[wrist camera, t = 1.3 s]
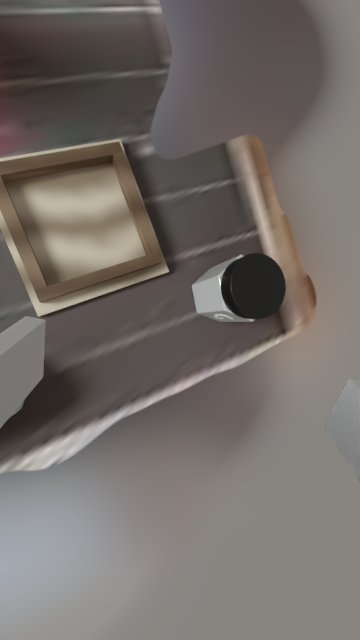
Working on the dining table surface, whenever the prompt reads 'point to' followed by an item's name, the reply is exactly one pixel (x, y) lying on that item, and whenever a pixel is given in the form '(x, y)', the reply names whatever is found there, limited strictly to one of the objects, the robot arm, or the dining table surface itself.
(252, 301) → the jar
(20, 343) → the robot arm
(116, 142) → the jar stand
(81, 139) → the dining table surface
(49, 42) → the dining table surface
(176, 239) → the dining table surface
